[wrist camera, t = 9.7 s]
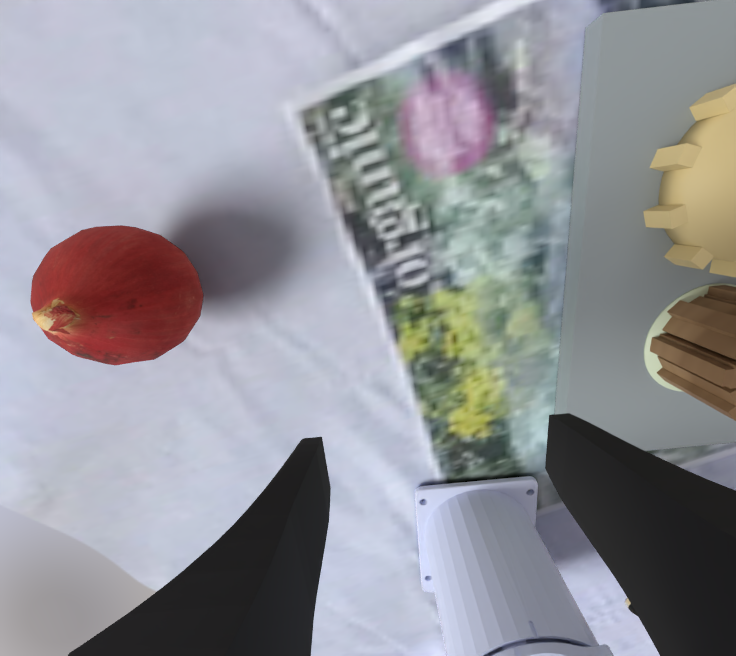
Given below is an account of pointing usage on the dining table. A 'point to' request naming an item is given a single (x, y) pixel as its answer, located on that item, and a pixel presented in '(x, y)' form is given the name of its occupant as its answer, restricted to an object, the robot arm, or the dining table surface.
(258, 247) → the dining table surface
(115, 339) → the onion
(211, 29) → the dining table surface
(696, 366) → the walnut gear
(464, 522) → the robot arm
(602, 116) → the gear board
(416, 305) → the dining table surface
